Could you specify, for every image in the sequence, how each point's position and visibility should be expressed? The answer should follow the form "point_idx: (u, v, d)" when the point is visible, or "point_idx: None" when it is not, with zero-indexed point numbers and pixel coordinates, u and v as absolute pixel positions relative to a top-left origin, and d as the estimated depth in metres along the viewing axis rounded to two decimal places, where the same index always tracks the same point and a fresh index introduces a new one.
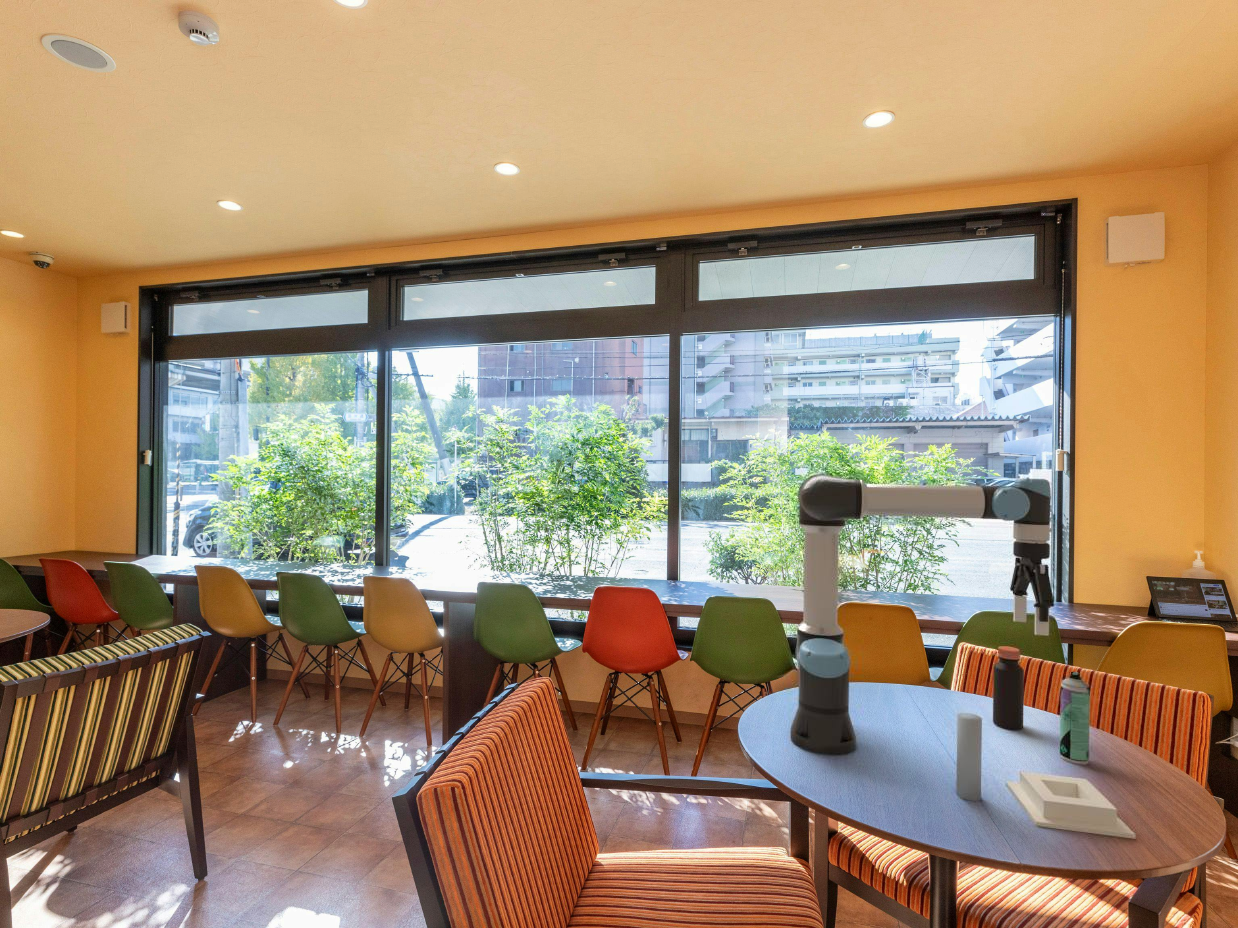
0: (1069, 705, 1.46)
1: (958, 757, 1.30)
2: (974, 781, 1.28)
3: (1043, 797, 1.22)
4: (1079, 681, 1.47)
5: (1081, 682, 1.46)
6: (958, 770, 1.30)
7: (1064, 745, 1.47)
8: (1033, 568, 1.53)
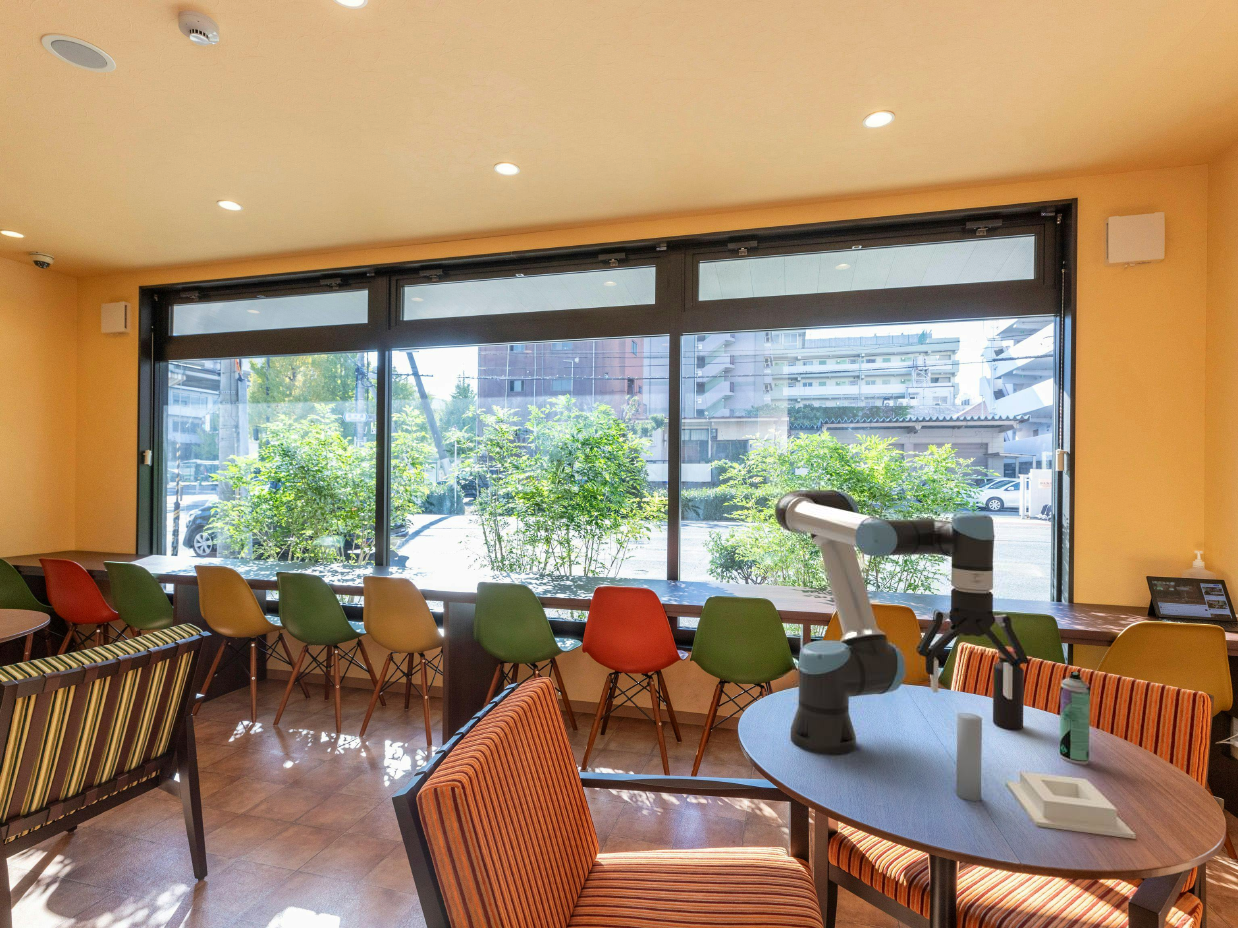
0: (1069, 705, 1.46)
1: (958, 757, 1.30)
2: (974, 781, 1.28)
3: (1043, 797, 1.22)
4: (1079, 681, 1.47)
5: (1081, 682, 1.46)
6: (958, 770, 1.30)
7: (1064, 745, 1.47)
8: None
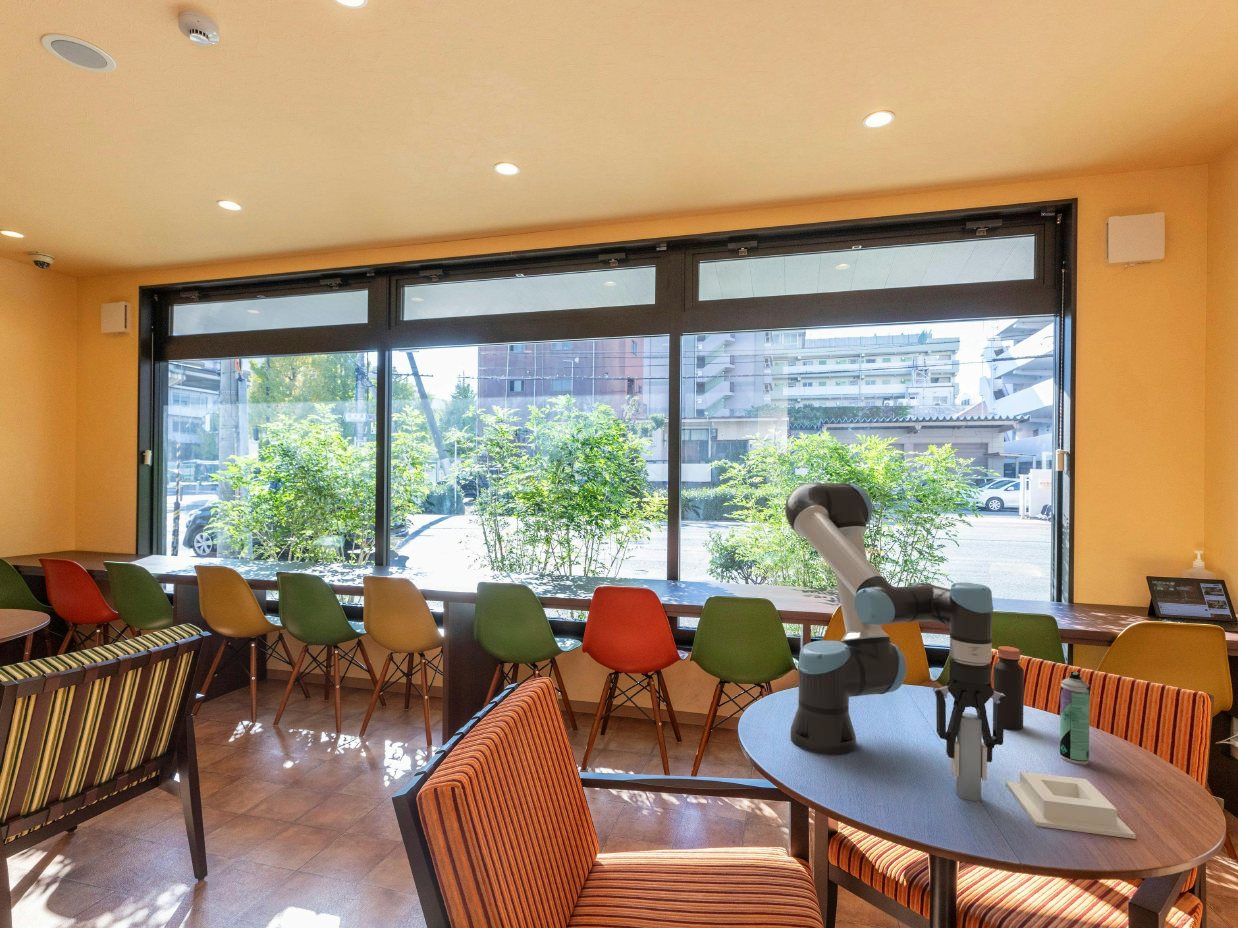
0: (1069, 705, 1.46)
1: None
2: (974, 781, 1.28)
3: (1043, 797, 1.22)
4: (1079, 681, 1.47)
5: (1081, 682, 1.46)
6: None
7: (1064, 745, 1.47)
8: None
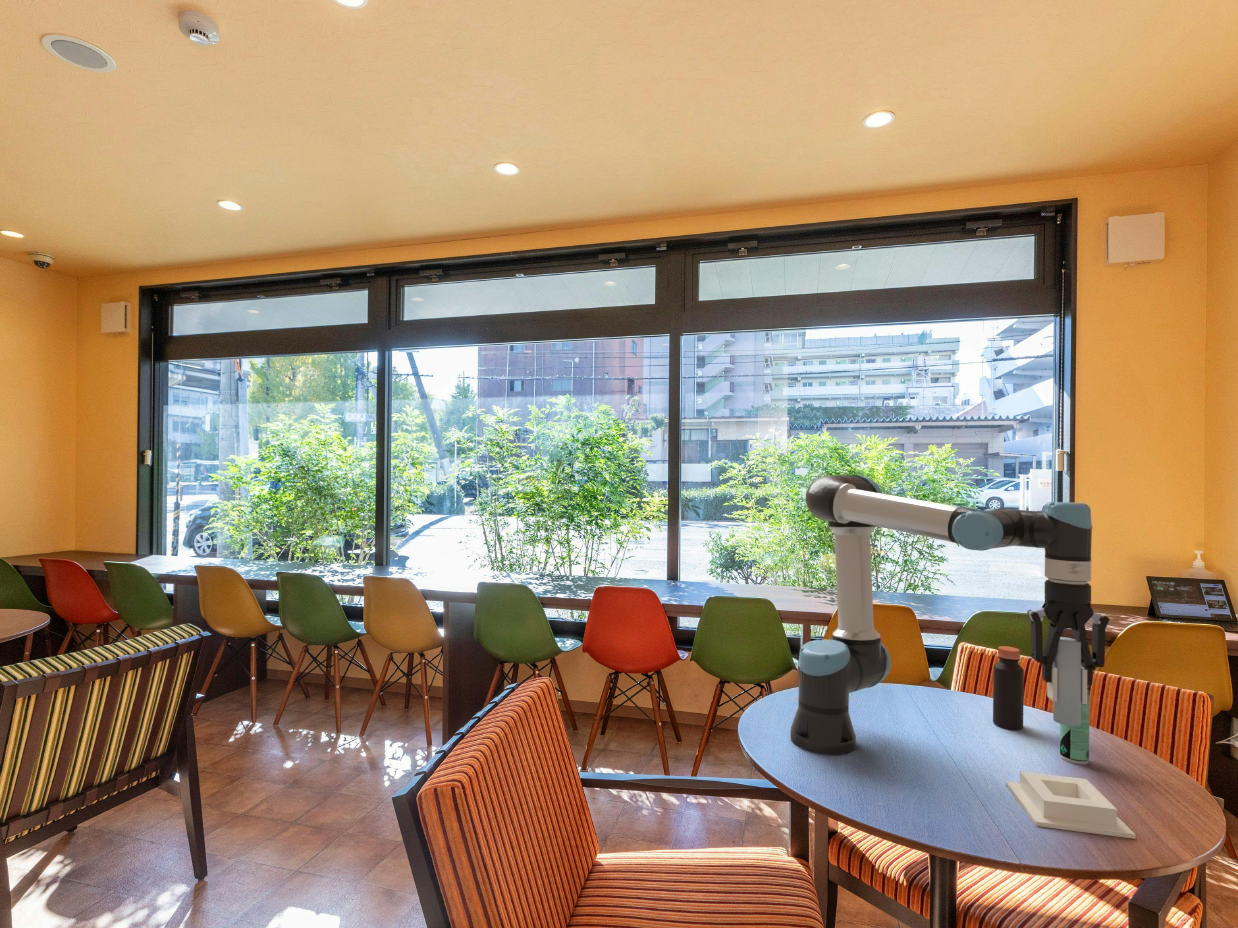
0: None
1: None
2: (1074, 705, 1.23)
3: (1043, 797, 1.22)
4: None
5: None
6: None
7: (1064, 745, 1.47)
8: None
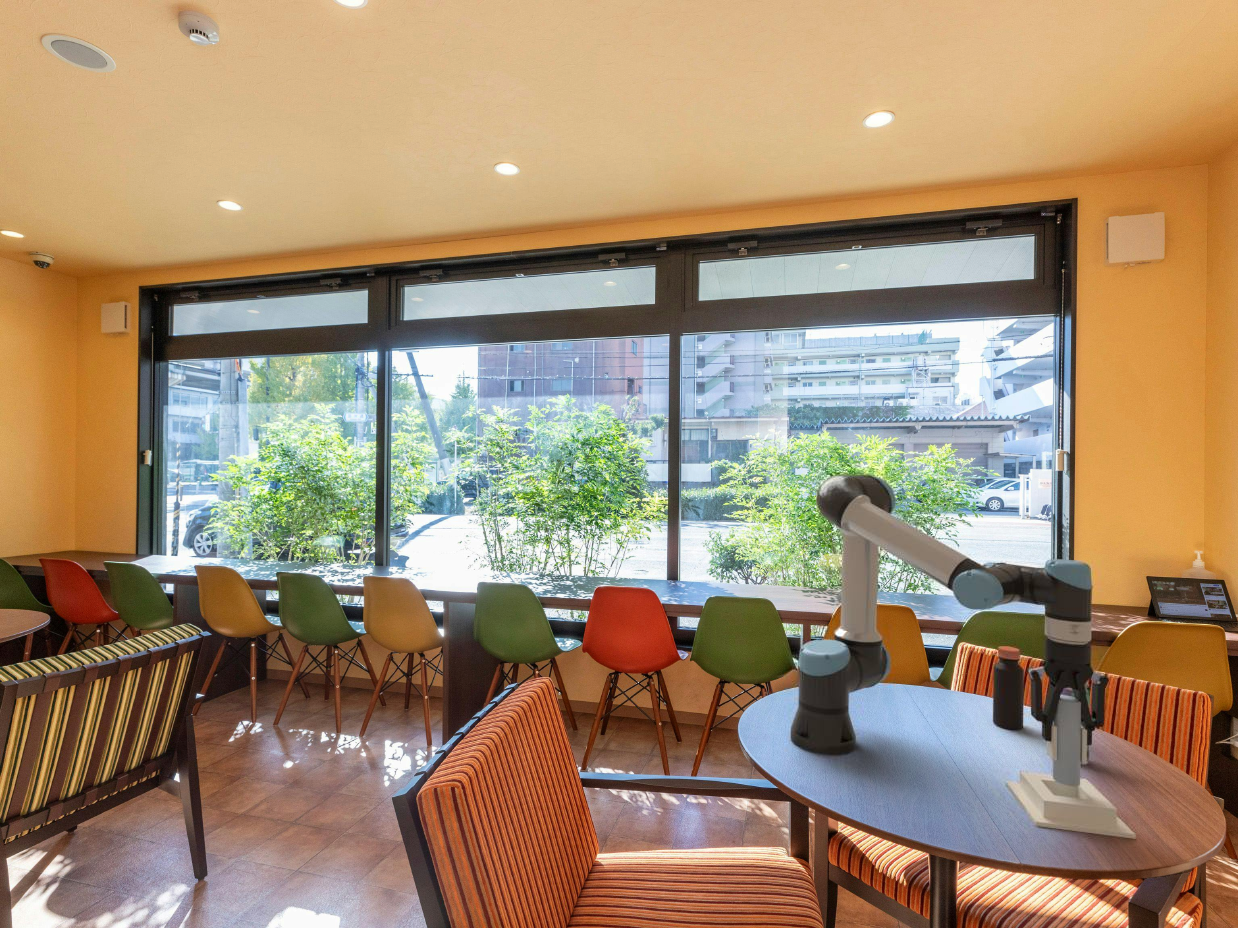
0: None
1: None
2: (1074, 765, 1.23)
3: (1043, 797, 1.22)
4: None
5: None
6: None
7: None
8: None
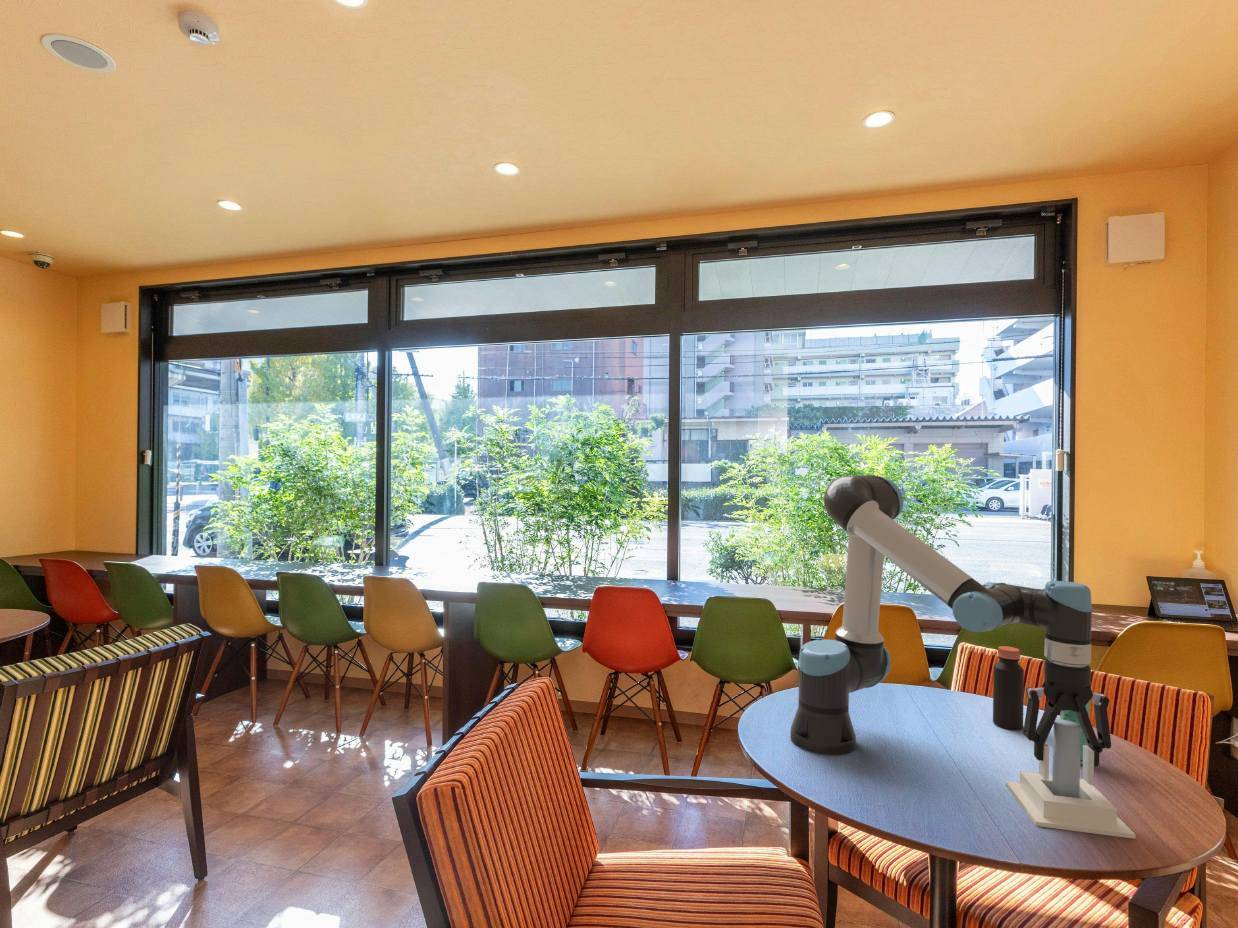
0: None
1: (1055, 766, 1.25)
2: (1073, 791, 1.23)
3: (1043, 797, 1.22)
4: None
5: None
6: (1055, 779, 1.25)
7: None
8: None
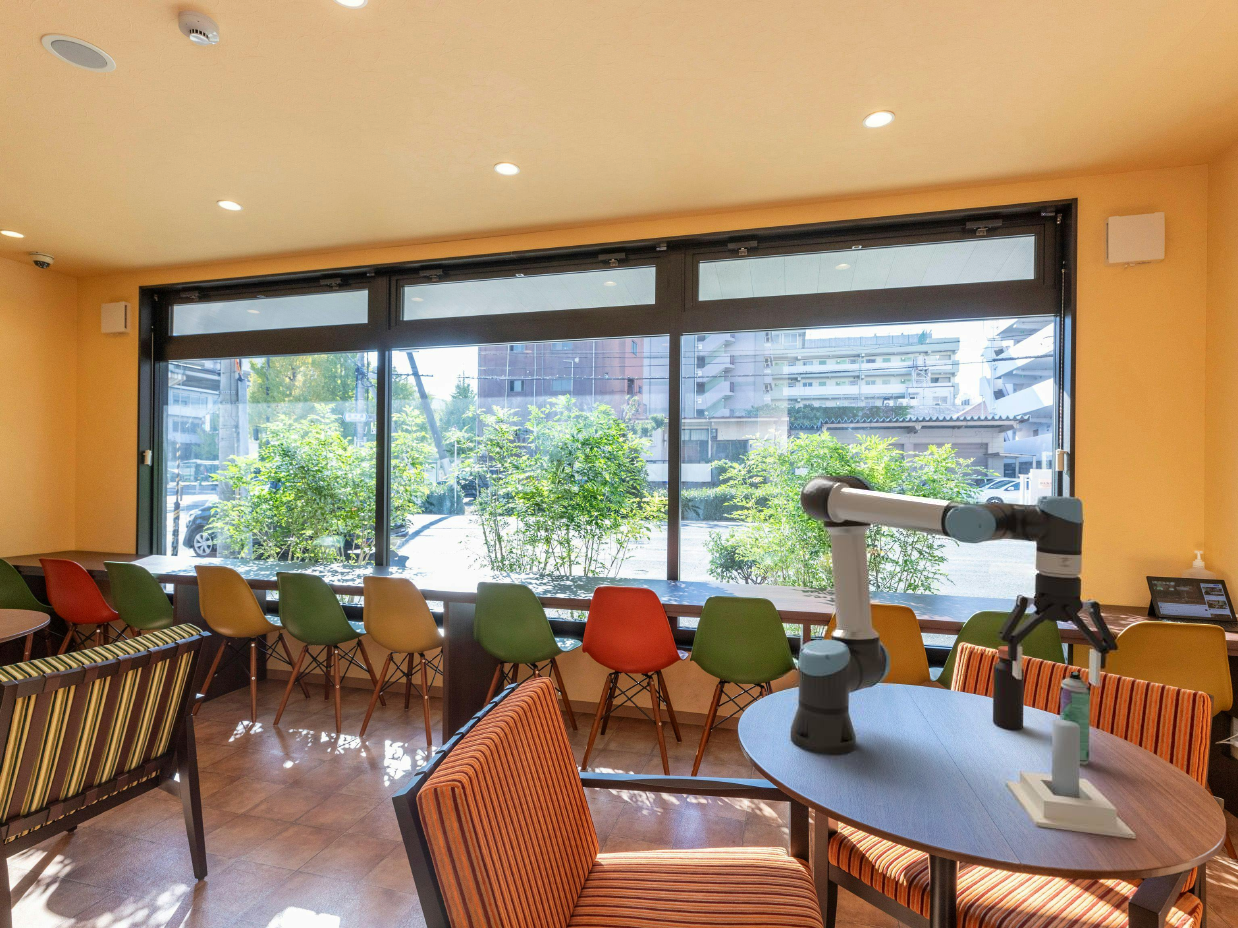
0: (1069, 705, 1.46)
1: (1054, 766, 1.25)
2: (1073, 791, 1.23)
3: (1043, 797, 1.22)
4: (1079, 681, 1.47)
5: (1081, 682, 1.46)
6: (1054, 779, 1.25)
7: None
8: None
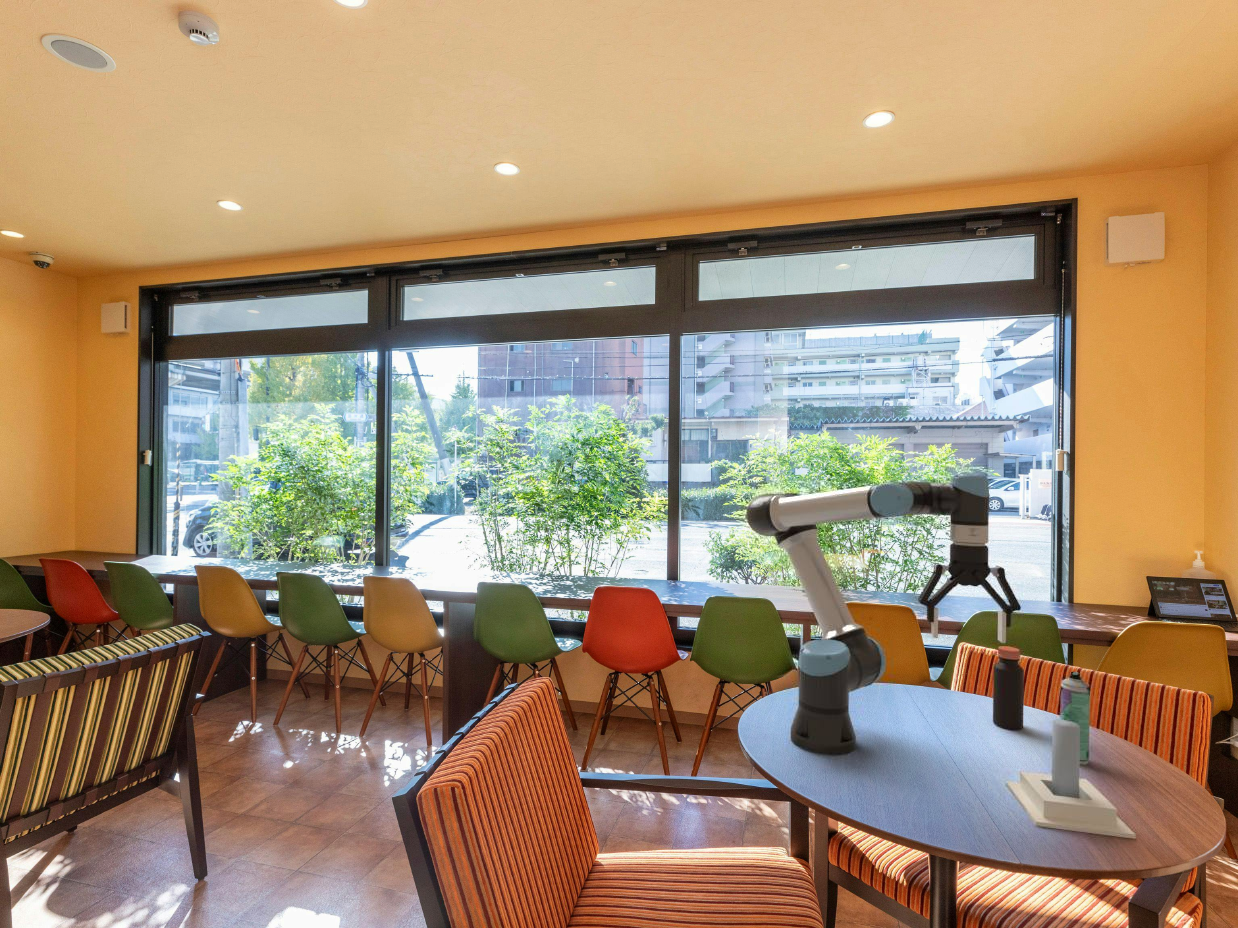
0: (1069, 705, 1.46)
1: (1054, 766, 1.25)
2: (1073, 791, 1.23)
3: (1043, 797, 1.22)
4: (1079, 681, 1.47)
5: (1081, 682, 1.46)
6: (1054, 779, 1.25)
7: None
8: None
